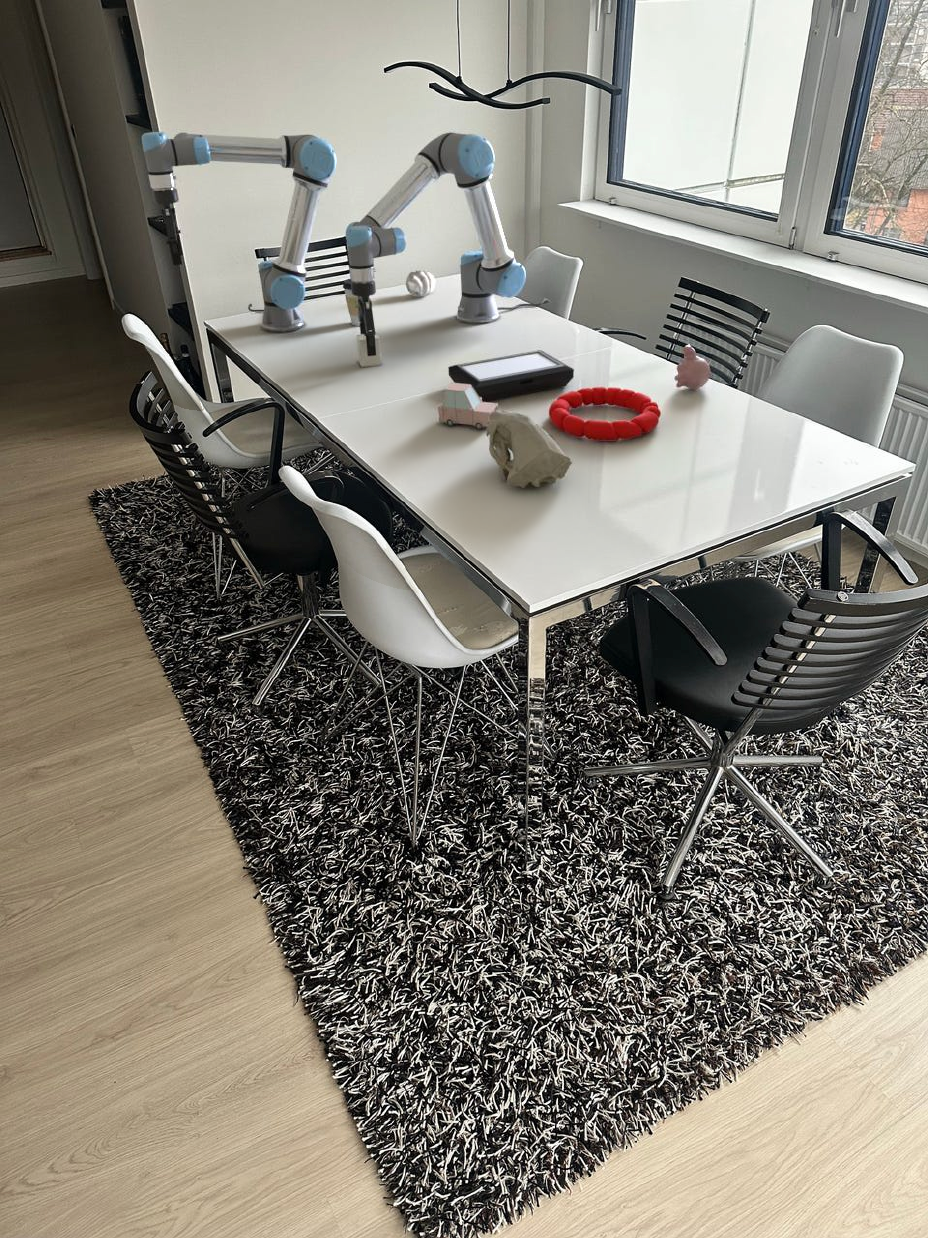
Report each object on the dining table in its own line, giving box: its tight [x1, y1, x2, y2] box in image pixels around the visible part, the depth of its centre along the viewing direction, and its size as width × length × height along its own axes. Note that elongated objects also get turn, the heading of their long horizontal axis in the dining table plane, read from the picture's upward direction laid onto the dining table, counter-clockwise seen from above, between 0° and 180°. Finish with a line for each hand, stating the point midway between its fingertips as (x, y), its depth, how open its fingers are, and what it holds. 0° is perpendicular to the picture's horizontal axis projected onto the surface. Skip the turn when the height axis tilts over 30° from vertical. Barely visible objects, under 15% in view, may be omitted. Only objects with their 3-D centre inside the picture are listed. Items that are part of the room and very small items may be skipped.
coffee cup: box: [342, 278, 361, 327], centre depth 323 cm, size 10×10×15 cm
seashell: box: [405, 270, 436, 298], centre depth 352 cm, size 10×15×10 cm
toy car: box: [437, 382, 499, 431], centre depth 243 cm, size 9×15×10 cm, turn 70°
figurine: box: [674, 344, 711, 390], centre depth 259 cm, size 9×11×12 cm
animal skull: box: [485, 409, 573, 489], centre depth 216 cm, size 17×25×20 cm
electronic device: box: [448, 349, 575, 402], centre depth 267 cm, size 32×6×20 cm
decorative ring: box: [548, 386, 661, 442], centre depth 242 cm, size 7×30×30 cm
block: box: [355, 332, 382, 368], centre depth 288 cm, size 6×6×9 cm
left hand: (178, 259), depth 290 cm, fingers open, 13 cm apart
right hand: (368, 349), depth 287 cm, fingers open, 13 cm apart
